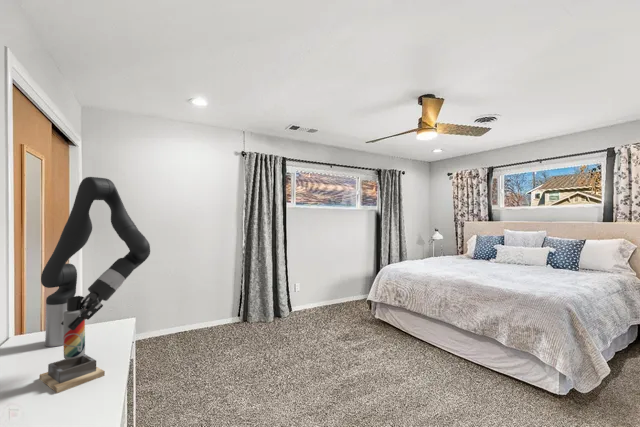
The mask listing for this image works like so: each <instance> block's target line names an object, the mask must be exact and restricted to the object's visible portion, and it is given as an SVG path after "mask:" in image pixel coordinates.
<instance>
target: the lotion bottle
mask: <svg viewBox="0 0 640 427" xmlns="http://www.w3.org/2000/svg"><path fill="white" fill-rule="evenodd" d="M81 296H82V295H76V296H74V297H71V298H67V311H65V312H64V313H63V334H64V345H63V359H74V358H78V357H81V356H83V355H84V354H85V355H86V323H85V322H86V320H83V321H82V322H81V323H80V324H79V325H78V326H77V328H76V329H75V330H71V329H70V328H68V325H69V324H70V323H72V322H73V321H74V320H75V319H76V318H77V317H78V315H79V314H80V313H81V312H82V311H81ZM78 318H79V317H78Z"/></svg>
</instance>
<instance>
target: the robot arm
mask: <svg viewBox="0 0 640 427" xmlns="http://www.w3.org/2000/svg"><path fill="white" fill-rule="evenodd" d="M94 201H104V202H105V203H106V204H107V206H108V208H110V209H109V210H110V223H111V226H112V229H113V230H114V231H115V233H116V234H117V236H118V237H119V238H120V240H122V241H123V242H124V243H125V245H126V247H127V248H128V250H129V251H128V253H126V254H125V255H124V256H123V257H119V258H118V259H117V260H116V261H114V262H113V263H112V265H110V267H108V269H106V270H105V271H104V272H103V273H102V274H100V276H99V277H98V278H96V279H95V281H94V282H93V283H92V284H91V285H90V286H89V287H88V288H87V291H88V294H87V295H86V296H83V295H80V296H81V311H82V312H81V313H80V314H79V315H78V317H79V318H78V317H77V318H76V319H75V320H74V321H73V322H72V323H70V324H69V325H68V328H70V329H71V330H75V329H76V328H77V326H78V325H79V324H80V323H81V322H82V321H83V320H85V321H86V320H90V319H91V318H92V317H93V316H94V315H96V313H97V312H98V311H100V310H101V308H103V307H104V304H102V303H101V302H102V301H105V302H106V301H108V300H110V298H112V296H113V295H114V294H115V293H116V291H118V289H119V288H120V287H122V284H123V283H124V282H125V280H127V278H128V277H129V276H130V275H131V274H132V273H133V272H134V270H135V269H137V268H138V267H140V266H141V265H142V264H143V263H144V262H145V261H146V260H147V259H148V258H149V256H150V255H151V244H150V242H149V241H148V240H147V238H146V237H145V235H144V234H143V233H142V232H141V231H140V230H139V228H138V227H137V225H136V224H135V222H134V221H133V220H132V218H131V217H130V215H129V213H128V211H127V209H126V208H125V205H124V202H123V201H122V198H121V195H120V194H119V192H118V189H117V187H116V185H115V183H114V182H113V181H112V180H111V179H110V178H107V177H106V178H105V177H98V176H97V177H96V176H86V177H84V178H83V179H82V180H81V182H80V183H79V186H78V188H77V192H76V195H75V198H74V202H73V205H72V208H71V211H70V214H69V216H68V219H67V221H66V223H65V225H64V227H63V230H62V231H61V235H60V236H59V240H58V242H57V243H56V246H55V248H54V250H53V252H52V254H51V255H50V257H49V259H48V260H47V263H46V264H45V265H44V267H43V269H42V272H41V276H40V283H41V285H42V286H43V287H44V288H46V289H49V288H50V289H52V288H57V289H56V290H55V292H53V293H51V294H48V296H47V297H46V299H45V337H44V338H45V340H44V341H45V342H44V346H46V347H60V346H64V334H63V313H64V312H65V311H67V298H71V297H75V295H76V293H77V283H78V282H77V281H78V271H77V268H76V266H75V265H74V264H72V263H67V262H68V261H69V260H70V259H71V258H72V257H73V256H74V255H75V254H77V253H78V252H79V251H80V250H81V249H82V248H83V247H84V246H85V245H86V244H87V242H88V241H89V239H90V236H91V235H92V231H93V223H92V220H91V217H90V211H91V206H92V205H93V203H94Z"/></svg>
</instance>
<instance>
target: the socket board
mask: <svg viewBox="0 0 640 427" xmlns="http://www.w3.org/2000/svg"><path fill="white" fill-rule="evenodd" d="M47 367H48V368H47V371H46V372H43V373H40V374H39V378H38V379H39V380H40V381H41V382H42V381H43V382H42V383H44V384H45V385H46V386H48V387H49V388H50V389H52V390H53V391H54V392H55V393H56V394H59V393H62V392H64V391H66V390H70V389H72V388H74V387H77V386H81V385H83V384H85V383H89V382H91V381H94V380H96V379H100V378H102V377H104V376H105V370H103V369H102V368H100V367H98V366H97V359H94V358H93V357H90V356H89V355H88V354H86V353H85V354H84V355H83V356H81V357H78V358H74V359H65V358H63V359H61V360H57V361H55V362H51V363H49V364H48V365H47Z"/></svg>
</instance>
